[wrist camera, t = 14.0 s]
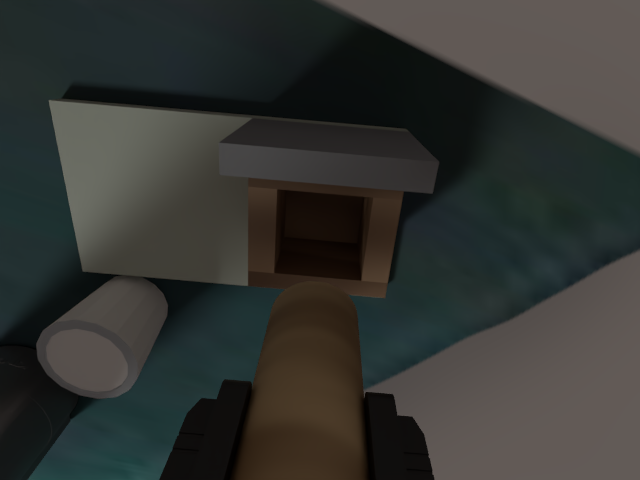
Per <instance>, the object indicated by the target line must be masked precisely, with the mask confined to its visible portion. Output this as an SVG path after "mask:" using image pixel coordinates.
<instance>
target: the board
mask: <svg viewBox="0 0 640 480" xmlns="http://www.w3.org/2000/svg"><path fill="white" fill-rule="evenodd" d="M49 104H50V109H51V114H52V119H53V124H54V129H55V134H56V139H57V144H58V149H59V154H60V159H61V164H62V169H63V174H64V179H65V185H66V190H67V195H68V200H69V205H70V210H71V215H72V220H73V225H74V230H75V235H76V240H77V245H78V250H79V255H80V260H81V265H82V270H83V272H94V273H105V274H117V275H128V276H140V277H151V278H162V279H174V280H185V281H197V282H208V283H220V284H231V285H242V286H248V177H236V176H225V175H220V172H219V142H220V141H222V140H223V139H224V138H226V137H227V136H229V135H230V134H231V133H233V132H234V131H236V130H237V129H238V128H240V127H241V126H242V125H244V124H245V123H247V122H248V121H249V120H251V119H252V118H256V119H268V120H279V121H291V122H302V123H313V124H325V125H336V126H348V127H359V128H370V129H382V130H393V131H405V132H409V131H408V130H407V129H403V128H391V127H380V126H368V125H357V124H345V123H334V122H323V121H311V120H300V119H288V118H277V117H266V116H254V115H243V114H231V113H220V112H209V111H197V110H186V109H174V108H163V107H152V106H140V105H129V104H117V103H106V102H95V101H83V100H72V99H54V100H49ZM254 287H255V286H254ZM265 288H266V287H265ZM277 289H278V288H277ZM357 296H358V295H357ZM368 297H369V296H368ZM380 298H381V297H380Z"/></svg>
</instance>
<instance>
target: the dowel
mask: <svg viewBox="0 0 640 480" xmlns="http://www.w3.org/2000/svg"><path fill="white" fill-rule="evenodd" d="M229 480H370V472H369V459H368V446H367V434H366V421H365V408H364V391H363V379H362V366H361V354H360V341H359V329H358V316H357V310H356V307H355V305H354V303H353V301H352V300H351V298H350V297H349V296H348V295H347V294H346V293H345V292H344V291H342V290H341V289H339V288H338V287H336V286H333V285H331V284H328V283H324V282H317V281H308V282H302V283H298V284H295V285H293V286H291V287H289V288H287V289H286V290H284V291H283V292H282V293H281V294H280V295H279V296H278V297H277V299H276V300H275V302H274V304H273V307H272V310H271V314H270V318H269V322H268V326H267V330H266V334H265V338H264V342H263V346H262V350H261V354H260V358H259V362H258V366H257V370H256V374H255V378H254V382H253V386H252V391H251V395H250V399H249V403H248V407H247V411H246V415H245V419H244V423H243V427H242V431H241V435H240V439H239V443H238V447H237V451H236V455H235V459H234V463H233V467H232V471H231V475H230V479H229Z"/></svg>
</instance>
